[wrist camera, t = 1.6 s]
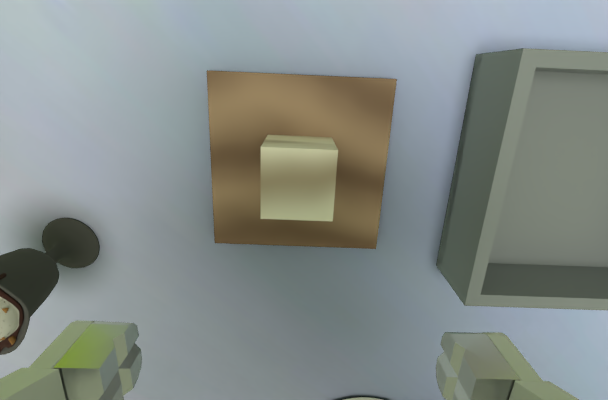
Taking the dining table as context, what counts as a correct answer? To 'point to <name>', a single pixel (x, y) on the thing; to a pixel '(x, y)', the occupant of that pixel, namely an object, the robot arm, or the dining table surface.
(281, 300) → the dining table surface
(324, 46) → the dining table surface
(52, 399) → the robot arm
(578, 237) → the bin
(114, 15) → the dining table surface
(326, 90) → the walnut board
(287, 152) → the cream block
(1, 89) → the dining table surface
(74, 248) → the sundae
